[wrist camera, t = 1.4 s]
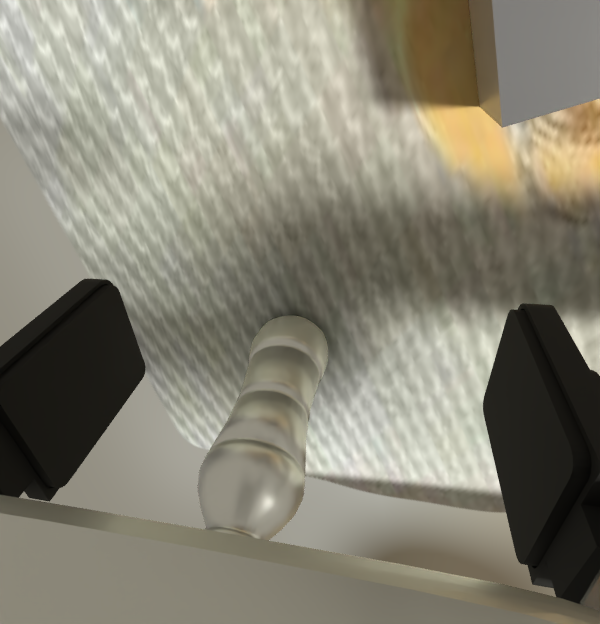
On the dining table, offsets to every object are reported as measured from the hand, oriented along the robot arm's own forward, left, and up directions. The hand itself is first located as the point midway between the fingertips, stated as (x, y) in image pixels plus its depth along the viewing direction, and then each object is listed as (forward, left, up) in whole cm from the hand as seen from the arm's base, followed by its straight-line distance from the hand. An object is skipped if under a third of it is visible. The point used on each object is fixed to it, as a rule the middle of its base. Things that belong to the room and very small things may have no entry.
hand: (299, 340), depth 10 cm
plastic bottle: (+9, +14, -21) cm, 27 cm away
